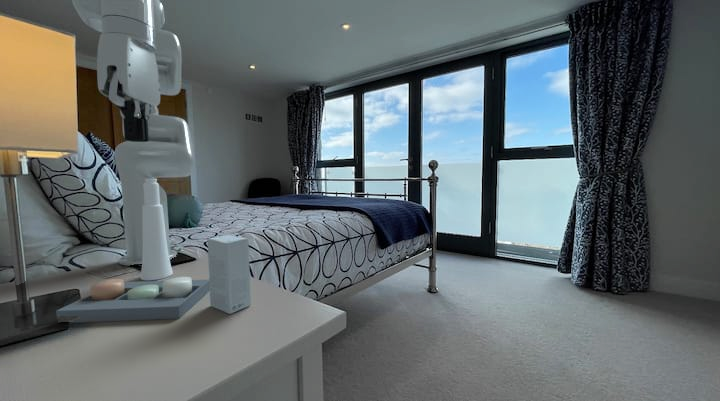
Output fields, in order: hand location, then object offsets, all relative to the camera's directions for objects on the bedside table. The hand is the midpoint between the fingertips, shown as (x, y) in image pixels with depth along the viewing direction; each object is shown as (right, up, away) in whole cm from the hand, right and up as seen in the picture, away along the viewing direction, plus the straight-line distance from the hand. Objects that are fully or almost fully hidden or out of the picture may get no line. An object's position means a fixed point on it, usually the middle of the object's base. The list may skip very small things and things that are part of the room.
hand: (137, 141), depth 54 cm
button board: (+3, -29, -2) cm, 30 cm away
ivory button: (+9, -28, -2) cm, 29 cm away
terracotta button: (-3, -28, -3) cm, 28 cm away
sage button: (+3, -29, -2) cm, 29 cm away
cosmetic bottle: (-5, -28, +12) cm, 31 cm away
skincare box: (+19, -30, -3) cm, 35 cm away
